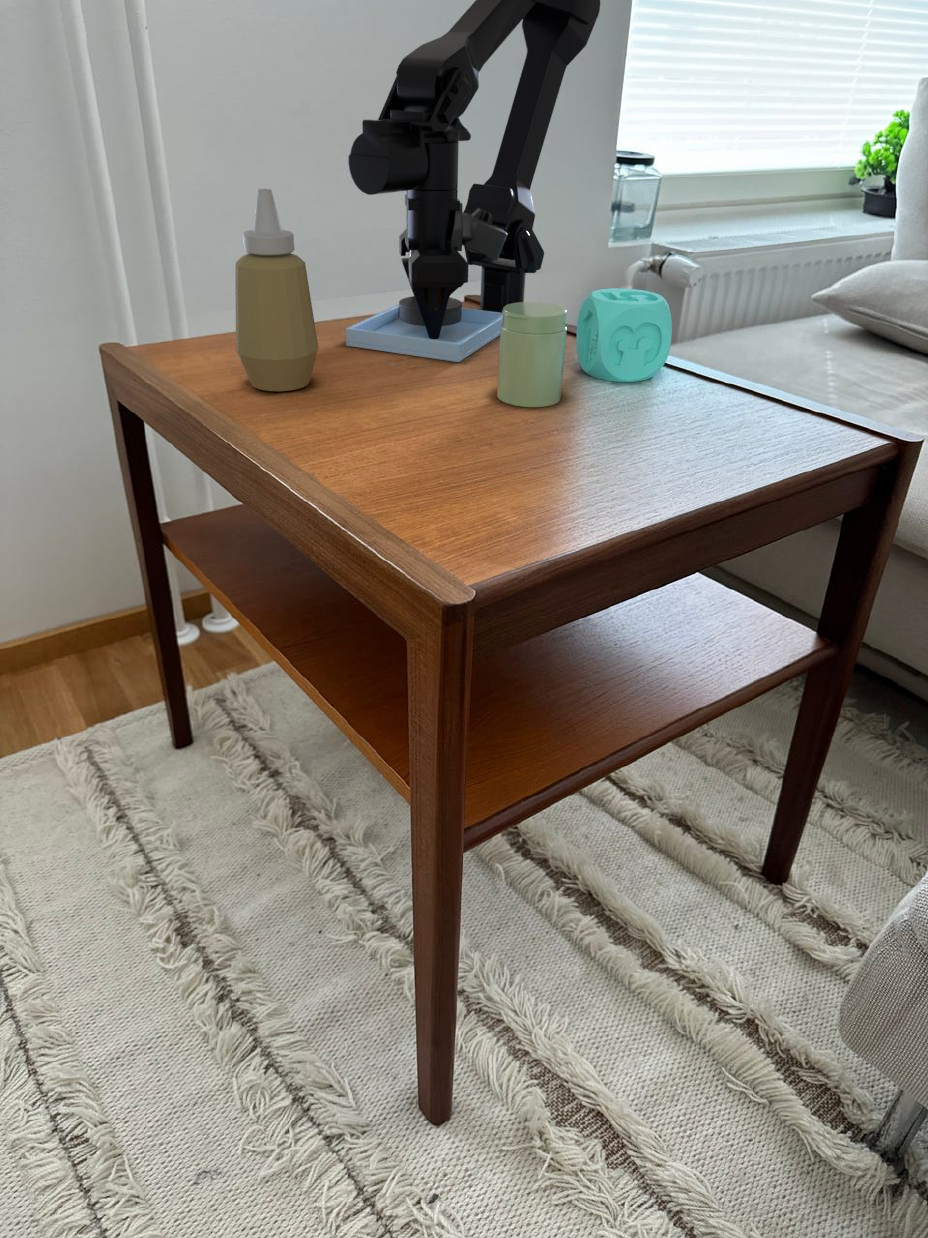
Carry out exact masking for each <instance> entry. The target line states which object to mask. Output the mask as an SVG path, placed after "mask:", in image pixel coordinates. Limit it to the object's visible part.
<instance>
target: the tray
mask: <svg viewBox="0 0 928 1238" xmlns="http://www.w3.org/2000/svg"><path fill="white" fill-rule="evenodd" d="M398 307H399V303H398V304H396V305H394V306H391V307H389V308H387V309H385V310H383V311H381V312H379V313H376V314H374V315H371V316H369V317H367V318H365V319H363V320H361V321H359V322H357V323H355V324H352V325H349V326H348V327H346V328H345V342H346V343H345V344H346V346H347V347H352V348H360V349H365V350H371V351H372V350H374V351H380V352H385V353H393V354H399V355H407V356H413V357H420V358H427V359H433V360H441V361H447V362H455V363H460V362H462V361H464V359H466V358H468V357H469V356H470V355H472V354H473V353H476V352H477V351H479V350H480V349H481V348H482V347H485V346H486V345H487V344H488V343H490V342H492V341H494V340H495V339H496V338H498V337H500V327H501V323H503V313H500V312H492V311H484V310H478V309H475V308H467V307H462V319H461V321H460V322H458V323H456V324H453V325H447V326H442V328H441V332H440V336H439V338H438V339H430V338H429V336H428V333H427V330H426V327H425V326H418V325H412V324H408V323H405V322H403V321H401V320H400V319H399V312H398Z"/></svg>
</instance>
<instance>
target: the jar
mask: <svg viewBox="0 0 928 1238" xmlns="http://www.w3.org/2000/svg"><path fill="white" fill-rule="evenodd" d="M502 313H503V323H501V327H500V335H499V350H498V366H497V367H498V368H497V386H496V387H497V389H496V390H497V391H496V397H497V399H498V400H499V401H500V402H503V403H505V404H508V405H511V406H514V407H522V408H544V407H550V406H554V405H556V404H558V403H559V402H560V401H561V398H562V388H563V375H564V365H565V355H566V354H565V353H566V342H567V334H568V333H567V330H568V328H567V326H566V319H567V309H566V308H564V307H563V306H561V305H557V304H553V303H547V302H540V301H524V302H518V303H512V304H508V305H506V306H504V309H503V311H502Z"/></svg>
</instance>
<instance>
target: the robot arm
mask: <svg viewBox="0 0 928 1238" xmlns="http://www.w3.org/2000/svg"><path fill="white" fill-rule="evenodd" d="M600 11H601V0H474V2H473V3H472V4H471V5H470V6H469V7H468V8H467V9H466V11H465V12H464V13H463V14H462V15H461V16H460V18H458V20H457V21H456V22H455V23H454V24H453V25H452V26H451V28H450V29H449V30H448V31H447V32H445V34H443V35H442V36H439V37H438V38H435V39H432V40H430V41H427V42H425V43H423V44H421V45H419V46H418V47H416V48H415V49H414V50H413V51H411V52H410V53H408V54H407V55H405V56H404V57H403V58H402V59H401V61H400V63H399V64H398V66H397V69H396V72H395V74H396V76H395V78H394V81H393V84H392V86H391V88H390V90H389V93H388V95H387V97H386V100H385V102H384V104H383V107H382V109H381V112H380V114H379V116H378V118H377V119H363V120H362V122H361V125H362V126H361V127H362V128H361V129H362V133H360V134H359V135H358V136H357V137H356V138H355V140H354V141H353V143H352V145H351V148H350V151H349V155H348V157H347V160H348V161H347V162H348V171H349V173H350V176H351V179H352V181H353V183H354V185H355V186H356V187H357V189H358V190H359V191H360V192H361V193H364V194H366V195H369V196H373V195H374V196H375V195H382V194H391V193H398V192H406V194H404V206H405V208H406V228H405V230H404V231H403V232H402V233H400V235H399V237H398V249H399V251H398V252H399V255H400V257H402V258H401V260H400V261H401V263H402V266H403V269H404V272H405V276H406V277H407V281H408V283H409V287H410V289H411V292H412V294H413V296H415V298H416V301H417V304H418V307H419V310H420V313H421V316H422V319H423V321H424V324H425V327H426V330H427V333H428V336H429V338H430V339H438V338H439V336H440V332H441V328H442V324H443V320H444V316H445V312H446V308H447V304H448V300H449V297H450V298H451V295H452V294H454V292H455V291H457V290H458V289H459V288H462V287H463V286H464V284H466V283H467V284H468V283H469V266H478V267H481V271H480V272H481V274H480V298H479V299H480V300H479V301H480V302H479V308H477V310H484V311H492V312H500V313H502V311H503V309H504V306H506V305H508V304H512V303H518V302H525V291H526V274H536V273H537V271H540V270H542V269H541V268H542V265H543V262H544V257H545V250H544V249H543V247H542V245H541V243H540V241H539V239H538V237H537V236H536V234H535V232H534V230H533V228H534V223H535V218H536V212H535V207H534V201H533V197H532V194H531V187H532V185H533V180H534V178H535V177H534V176H535V173H536V170H537V166H538V164H539V160H540V156H541V153H542V149H543V146H544V143H545V140H546V136H547V133H548V130H549V127H550V123H551V119H552V116H553V113H554V109H555V106H556V103H557V100H558V97H559V96H558V95H559V92H560V90H561V86H562V83H563V80H564V76H565V73H566V71H567V67H568V66H569V65H570V63H571V62H572V61H573V60H574V59H575V58H576V57H577V56H578V55H579V54H580V53H581V52H582V51H583V49H584V48H585V47H586V46H587V44H588V42H589V40H590V37H591V35H592V33H593V29H594V27H595V25H596V22H597V19H598V18H599V14H600ZM520 23H521V29H522V34H523V38H524V43H525V47H526V55H525V59H524V63H523V66H522V69H521V73H520V76H519V80H518V83H517V88H516V90H515V94H514V97H513V100H512V104H511V107H510V111H509V114H508V117H507V122H506V124H505V128H504V131H503V135H502V138H501V143H500V145H499V149H498V153H497V156H496V159H495V163H494V166H493V170H492V173H491V176H489V178H488V179H487V180H486V181H485V182H484V183H483V184H482V183H473V184H472V185H471V187H470V189H469V192H468V196H467V202H466V205H465V208H464V207H463V203H462V202H461V201H460V199H459V198H458V196H459V195H458V194H459V193H458V191H459V190H458V189H459V188H458V186H459V185H458V184H459V147H460V145H459V144H460V143H459V142H468V141H471V139H472V134H471V132H470V131H469V130H468V129H467V127H465V126H464V124H463V123H462V121H461V119H460V117H462V115H463V114H464V113H465V112H466V110H467V108H468V107H469V105H470V103H471V102H472V100H473V99H474V97H475V95H476V93H477V91H478V90H479V88H480V87H479V86H480V72H481V71H482V69H483V67H484V66H485V64H487V62H488V61H489V59H490V58H491V57H492V56H493V55H494V54H495V52H496V51H498V49H499V48H500V47H501V45H502V44H503V43H504V42H505V41H506V40H507V38H508V37H509V36H510V35H511V34H512V32H513V31H514V30H515V29H516V28H517V26H518V25H519V24H520ZM463 209H464V210H463ZM463 248H464V253H465V257H463V255H462V254H461V253H460V252H463ZM407 253H408V256H407ZM406 256H407V257H406Z"/></svg>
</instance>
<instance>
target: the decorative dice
mask: <svg viewBox="0 0 928 1238" xmlns="http://www.w3.org/2000/svg"><path fill="white" fill-rule="evenodd" d="M672 336H673V321H672V314H671V309H670V306H669V303H668V302H667V300H666V299H665V297H663V296H662V295H661V294H659V293H656V292H653V291H648V290H643V289H637V288H626V287H625V288H622V287H618V288H617V287H613V288H611V287H610V288H609V287H608V288H602V289H601V288H599V289H596V290H594V291H592V292H591V293H590V294H589V295H588V296H587V297H586V298H585V299H584V300H583V301H582V303H581V306H580V309H579V312H578V316H577V323H576V337H575V338H576V340H575V341H576V352H577V358H578V362H579V365H580V367H581V369H582V370H583V372H584V373H585V374H587V375H589V376H590V377H593V378H595V379H598V380H603V381H608V382H616V383H617V382H618V383H637V382H642V381H646V380H649V379H651V378H652V377H654V376H655V375H656V374H657V373H658V372H659V371H660V370H661V369H663V366H664V365H665V364H666V362H667V360H668V357H669V353H670V350H671V344H672Z"/></svg>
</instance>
